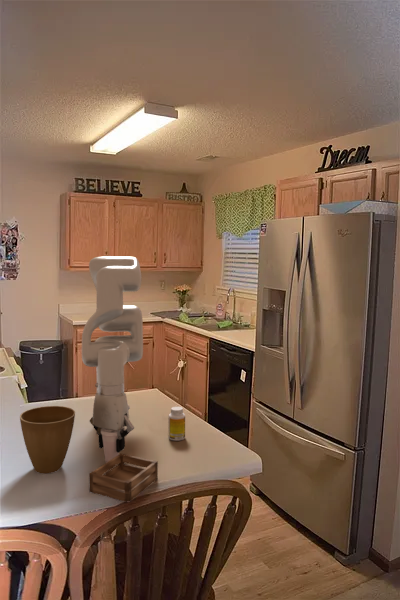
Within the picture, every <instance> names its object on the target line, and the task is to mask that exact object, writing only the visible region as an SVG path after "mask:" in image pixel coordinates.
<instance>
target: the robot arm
mask: <svg viewBox="0 0 400 600" xmlns="http://www.w3.org/2000/svg"><path fill="white" fill-rule="evenodd" d="M88 269H89V270H88V271H89V274H90V278H91V281H92V283H93V285H94V288H95V291H96V292H95V293H96V311H95V312H94V313H93V314H92V315H91V317H89V319H88V320H87V322H86V323H85V325H84V327H83V329H82V333H81V360H82V363H83V364H84V365H85V366H87V367H90V368H91V367H93V368H94V367H95V370H96V383H95V387H96V393H95V395H94V399H93V405H92V406H93V408H92V416H91V418H90V419H89V423H90V424H91V426H93V429H94V430H95V431H96V435H98V438H97V439H98V449H104V447H103V439H102V434H101V429H102V428H105V429H110V430H115V431H116V432H117V436H118V439H117V440H116V451H117V452H118V453H119V454H120V453H121V452H122V451H124V450H125V447H126V437H127V436H128V435H129V434H130V432H132V431H134V429H135V426H134V425H133V423H132V422H131V420H130V419H129V418H130V415H129V410H130V409H131V408H130V405H129V403H128V399H127V394H126V393H125V365H126V364H127V363H129V362H133V363H134V362H140V361H141V360H142V359H143V355H144V336H143V335H144V333H143V332H144V327H143V321H144V320H143V313H142V310H141V308H140V307H139V306H137V305H133V304H132V305H131V304H130V305H129V304H128V305H127V304H126V305H125V304H124V293H125V292H131V293H132V292H134V293H135V292H139V291H140V289H141V286H142V272H141V264H140V262H139V259H138V258H137V257H135V256H113V255H112V256H111V255H108V256H105V255H103V256H96V257H93V258H92V259H90V260H89V262H88ZM97 328H99V330H100V331H102V332H107V333H116V332H117V333H118V332H119V333H121V332H122V333H123V332H127V333H129V334H130V335H127V334H126V335H122V334H121V335H104V336H100V337H98V338H96V340H94V341H92V335H93V332H94V331H95V330H96V329H97ZM125 427H126V428H125ZM121 430H122V433H121Z"/></svg>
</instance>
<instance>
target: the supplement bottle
mask: <svg viewBox="0 0 400 600" xmlns="http://www.w3.org/2000/svg"><path fill="white" fill-rule="evenodd" d="M167 427H168V433H167V434H168V439H169V440H170V441H173V442H175V441H176V442H178V441H183V440H185V438H186V414H185V413H184V408H183V407H182V406H172V407H171V409H170V413H169V414H168V426H167Z"/></svg>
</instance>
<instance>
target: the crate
mask: <svg viewBox="0 0 400 600" xmlns="http://www.w3.org/2000/svg"><path fill="white" fill-rule="evenodd" d="M158 464H159V463H158V461H157V460H153V459H148V458H147V459H146V458H143V457H139V456H134V455H129V454H126V453H122V452H119V455H118V456H116V457H114V458H113V459H111V460H110V461H108V462H107V463H106V462H105V463H104V464H102V465H101V466H99V467H97V468H96V469H94V470H93V471H91V472H89V476H88V479H89V480H88V481H89V483H88V484H89V485H88V486H89V488H88V490H89V493H91V494H96V495H99V496H103V497H107V498H110V499H114V500H116V501H117V500H118V501H121V502H125V503H128V502H127V501H130V500H131V501H133V500H134V499H135V498H136V497H138V496H139V495H140V494H141V493H142V492H144V491H145V490H147V488H149V486H151V485H152V484H153V483H155V482H156V481H157V480H158V472H159V471H158V468H159V466H158ZM131 501H130V502H131Z"/></svg>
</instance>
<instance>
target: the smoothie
mask: <svg viewBox="0 0 400 600" xmlns="http://www.w3.org/2000/svg"><path fill="white" fill-rule="evenodd" d="M121 433H122V430H121ZM101 434H102V439H103V454H104V461H105V463H107V462H108V461H110V460H111V459H113V458H114V457H116V456H118V455H119V454H120V452H119V453H118V452H117V451H116V440H117V439H118V436H117V432H116V431H115V430H110V429H105V428H102V429H101Z"/></svg>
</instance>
